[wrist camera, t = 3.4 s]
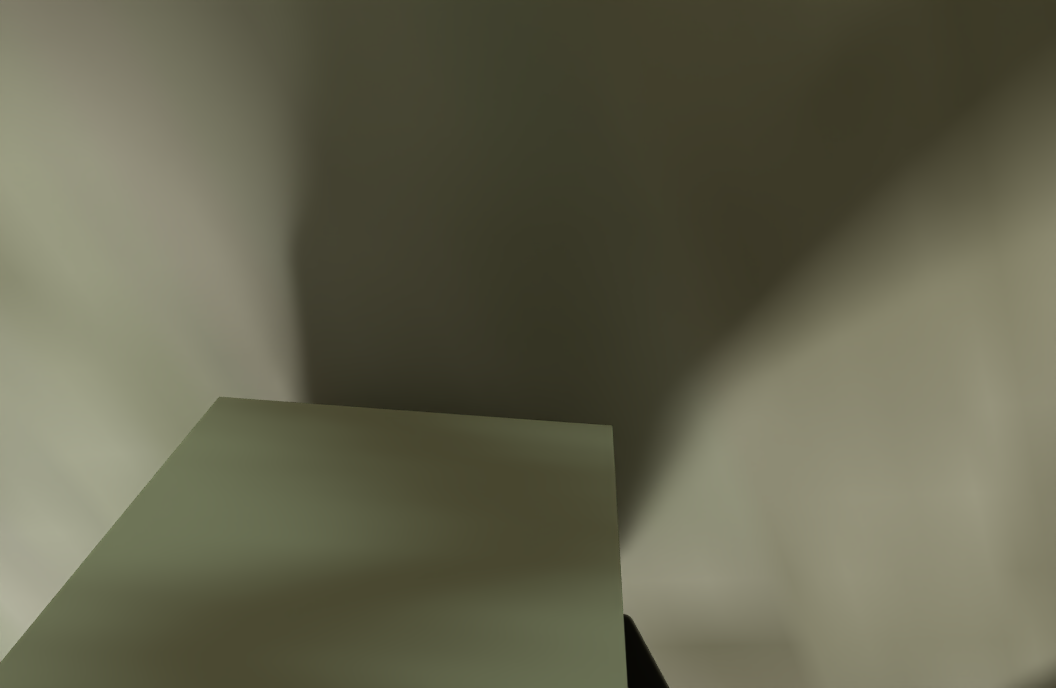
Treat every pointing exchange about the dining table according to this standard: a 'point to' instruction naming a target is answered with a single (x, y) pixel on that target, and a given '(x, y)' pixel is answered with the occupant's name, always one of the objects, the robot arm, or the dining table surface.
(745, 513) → the dining table surface
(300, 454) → the sage block
